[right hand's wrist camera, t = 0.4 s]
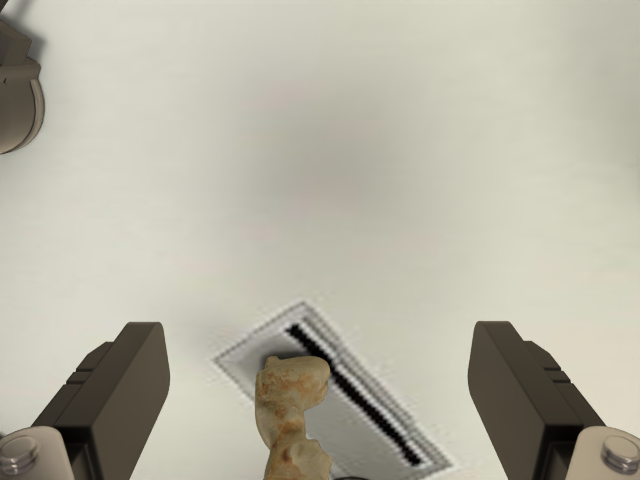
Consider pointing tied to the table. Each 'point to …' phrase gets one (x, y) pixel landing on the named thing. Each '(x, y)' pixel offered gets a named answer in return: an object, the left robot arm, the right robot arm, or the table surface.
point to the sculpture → (291, 416)
